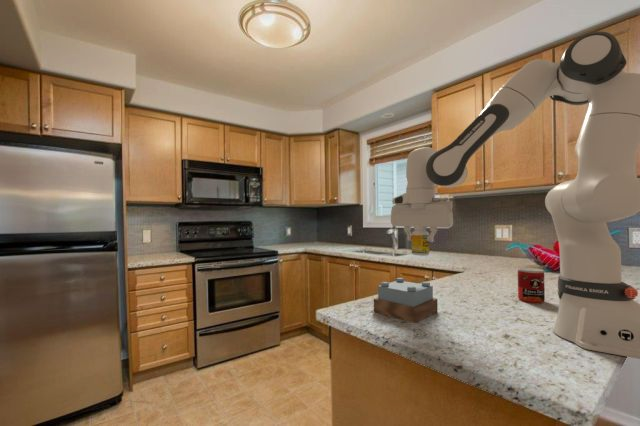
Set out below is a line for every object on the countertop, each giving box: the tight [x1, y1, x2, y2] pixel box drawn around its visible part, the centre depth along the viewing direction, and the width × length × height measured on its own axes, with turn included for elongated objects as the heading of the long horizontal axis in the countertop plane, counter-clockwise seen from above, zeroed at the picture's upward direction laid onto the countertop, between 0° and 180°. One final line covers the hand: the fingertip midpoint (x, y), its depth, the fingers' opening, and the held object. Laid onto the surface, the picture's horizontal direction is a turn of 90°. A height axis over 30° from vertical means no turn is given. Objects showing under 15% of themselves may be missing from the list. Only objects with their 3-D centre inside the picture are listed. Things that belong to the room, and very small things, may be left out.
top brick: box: [377, 277, 434, 307], centre depth 93 cm, size 12×12×5 cm
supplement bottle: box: [411, 225, 430, 257], centre depth 97 cm, size 5×5×10 cm
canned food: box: [517, 267, 546, 304], centre depth 105 cm, size 8×8×11 cm
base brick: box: [373, 297, 439, 324], centre depth 93 cm, size 14×14×4 cm
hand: (420, 241), depth 97 cm, fingers closed on supplement bottle, 5 cm apart
